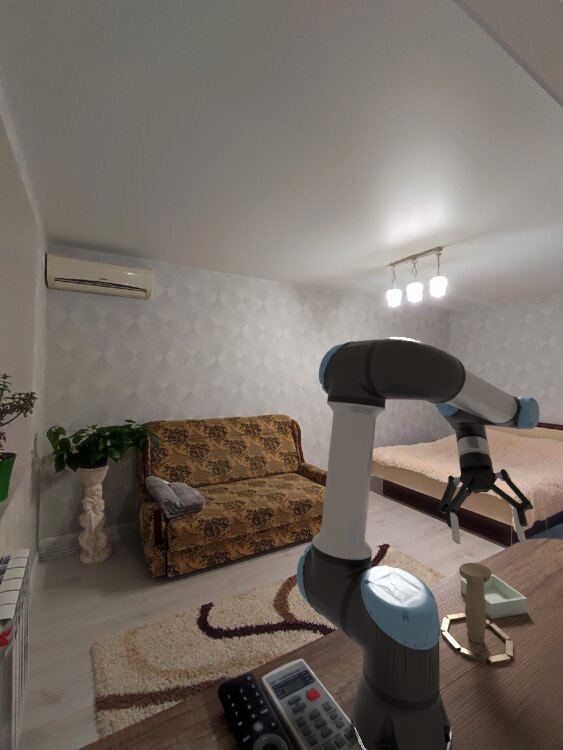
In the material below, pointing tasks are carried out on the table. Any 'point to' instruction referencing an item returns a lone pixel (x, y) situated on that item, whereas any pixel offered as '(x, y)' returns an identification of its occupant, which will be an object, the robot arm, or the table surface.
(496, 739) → the table surface
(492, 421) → the robot arm
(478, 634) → the handle
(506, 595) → the bin
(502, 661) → the collar ring
